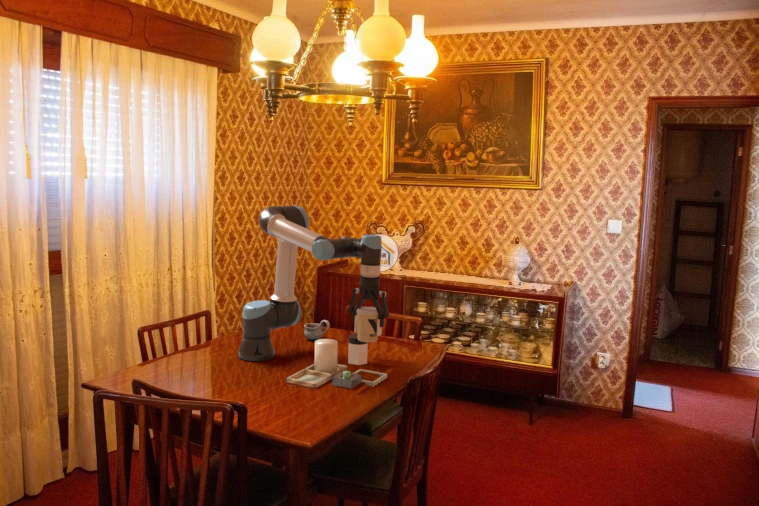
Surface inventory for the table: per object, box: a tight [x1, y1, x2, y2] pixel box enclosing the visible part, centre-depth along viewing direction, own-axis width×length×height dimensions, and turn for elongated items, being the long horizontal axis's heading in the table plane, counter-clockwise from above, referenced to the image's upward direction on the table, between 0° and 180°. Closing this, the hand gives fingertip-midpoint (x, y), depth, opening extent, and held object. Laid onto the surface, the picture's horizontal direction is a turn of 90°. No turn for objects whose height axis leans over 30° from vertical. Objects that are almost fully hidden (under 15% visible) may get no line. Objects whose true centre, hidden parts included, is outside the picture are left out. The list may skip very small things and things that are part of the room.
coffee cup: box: [356, 306, 379, 343], centre depth 233 cm, size 9×9×12 cm
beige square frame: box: [353, 368, 388, 387], centre depth 235 cm, size 12×12×2 cm
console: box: [331, 371, 362, 390], centre depth 226 cm, size 8×8×4 cm
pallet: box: [285, 363, 349, 392], centre depth 235 cm, size 13×25×2 cm, turn 155°
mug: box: [303, 319, 331, 341], centre depth 289 cm, size 10×12×10 cm
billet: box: [313, 338, 339, 374], centre depth 239 cm, size 9×9×12 cm
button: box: [343, 370, 352, 378], centre depth 226 cm, size 3×3×4 cm
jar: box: [347, 333, 369, 366], centre depth 253 cm, size 9×8×12 cm
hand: (367, 333), depth 233 cm, fingers closed on coffee cup, 9 cm apart
